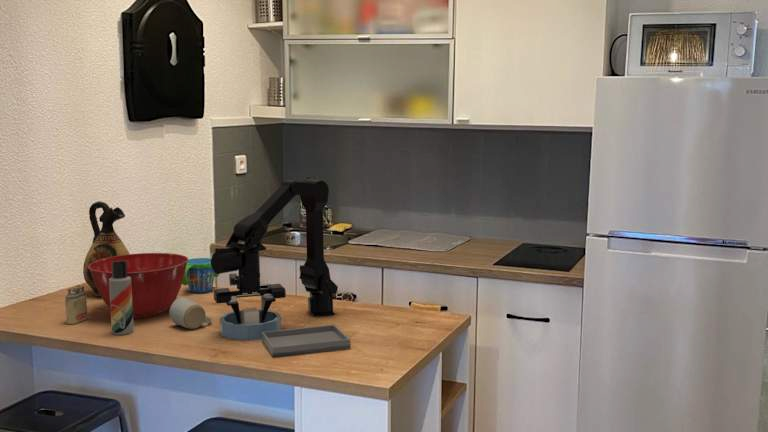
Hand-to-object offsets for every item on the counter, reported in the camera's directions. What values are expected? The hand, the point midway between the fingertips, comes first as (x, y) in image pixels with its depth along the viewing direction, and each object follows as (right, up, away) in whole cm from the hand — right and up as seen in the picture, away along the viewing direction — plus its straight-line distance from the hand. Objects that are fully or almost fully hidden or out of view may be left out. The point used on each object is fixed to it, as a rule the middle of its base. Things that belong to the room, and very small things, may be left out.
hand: (250, 324), depth 221 cm
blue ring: (0, -2, 0) cm, 2 cm away
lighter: (-52, -1, +10) cm, 53 cm away
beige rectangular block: (0, -2, 0) cm, 2 cm away
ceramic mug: (-17, -2, +6) cm, 18 cm away
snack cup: (-24, +5, +45) cm, 52 cm away
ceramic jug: (-54, +4, +42) cm, 68 cm away
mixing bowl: (-36, +1, +20) cm, 41 cm away
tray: (+16, -4, -12) cm, 20 cm away
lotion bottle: (-35, -2, 0) cm, 35 cm away
